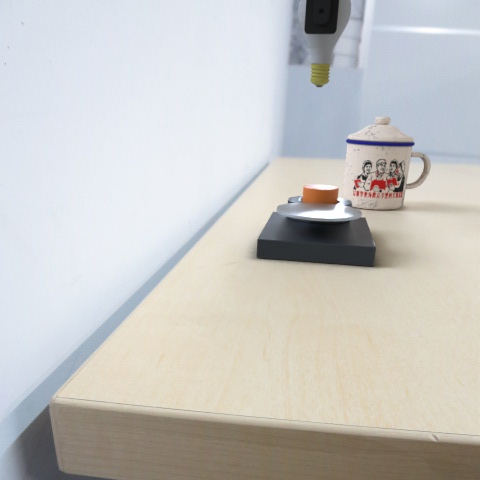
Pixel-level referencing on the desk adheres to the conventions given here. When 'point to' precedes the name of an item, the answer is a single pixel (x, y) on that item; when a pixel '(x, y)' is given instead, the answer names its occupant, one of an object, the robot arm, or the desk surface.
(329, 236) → the scale
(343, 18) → the light bulb
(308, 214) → the weigh plate
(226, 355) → the desk surface
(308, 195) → the short orange cylinder
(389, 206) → the teacup with lid
